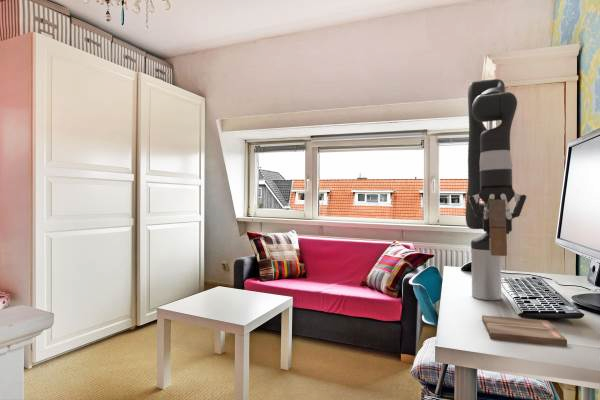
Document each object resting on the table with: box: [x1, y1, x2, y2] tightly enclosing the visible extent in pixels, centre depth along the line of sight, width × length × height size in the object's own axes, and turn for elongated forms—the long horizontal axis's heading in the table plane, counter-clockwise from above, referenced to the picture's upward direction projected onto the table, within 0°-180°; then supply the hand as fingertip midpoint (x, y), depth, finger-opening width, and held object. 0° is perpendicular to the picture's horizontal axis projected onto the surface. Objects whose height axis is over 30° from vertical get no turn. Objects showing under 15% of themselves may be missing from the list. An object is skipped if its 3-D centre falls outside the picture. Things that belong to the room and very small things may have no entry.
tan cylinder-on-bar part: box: [489, 199, 508, 257], centre depth 95 cm, size 4×11×18 cm, turn 153°
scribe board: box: [481, 314, 568, 347], centre depth 93 cm, size 14×16×2 cm
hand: (497, 233), depth 95 cm, fingers closed on tan cylinder-on-bar part, 4 cm apart
